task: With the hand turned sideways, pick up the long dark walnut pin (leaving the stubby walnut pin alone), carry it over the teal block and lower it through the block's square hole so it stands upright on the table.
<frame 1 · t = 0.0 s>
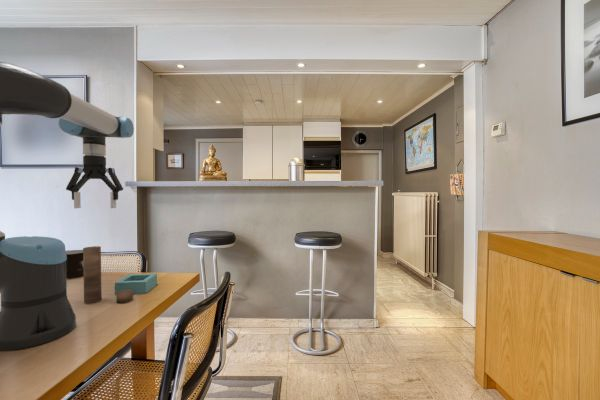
hand: (95, 208, 115), 28 cm above the table, tool pointing down, fingers open, 13 cm apart
short pin: (125, 301, 90), on the table
coffee mug: (70, 277, 115), on the table
hole block: (137, 289, 101), on the table
long pin: (92, 300, 90), on the table
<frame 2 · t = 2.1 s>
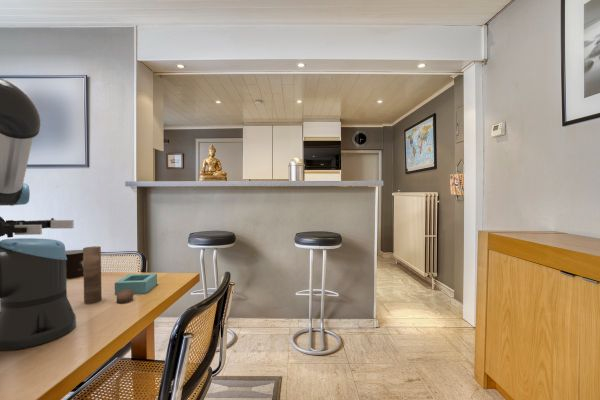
hand: (58, 226, 88), 24 cm above the table, tool horizontal, fingers open, 13 cm apart
nothing on the table moved.
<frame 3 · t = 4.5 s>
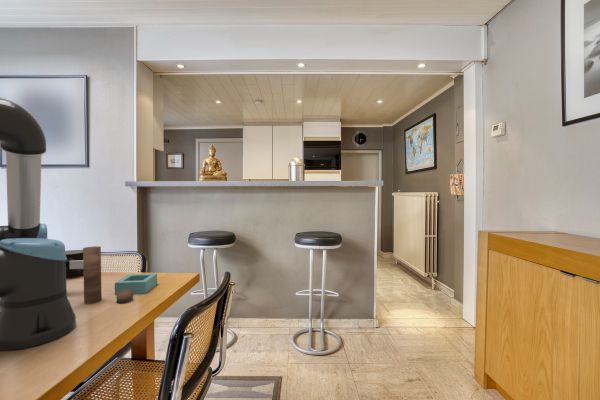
hand: (78, 269, 90), 10 cm above the table, tool horizontal, fingers open, 13 cm apart
nothing on the table moved.
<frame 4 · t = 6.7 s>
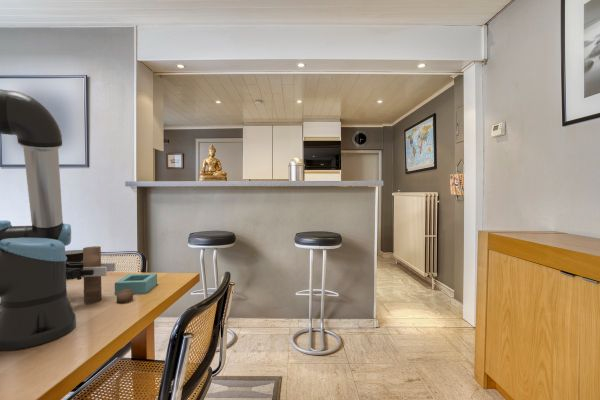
hand: (110, 269, 90), 10 cm above the table, tool horizontal, fingers closed on long pin, 4 cm apart
long pin: (92, 300, 90), on the table, touching gripper
everything else where it was.
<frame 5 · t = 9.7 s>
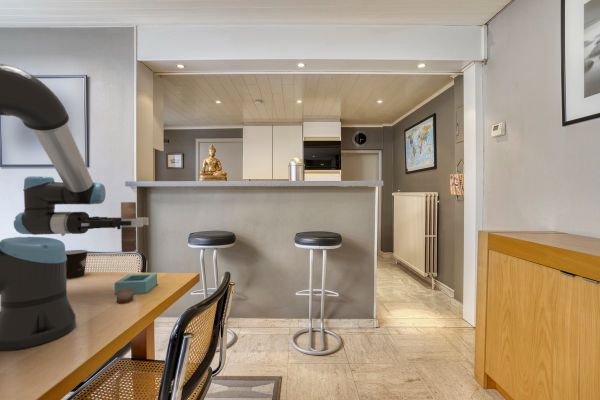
hand: (145, 222, 100), 24 cm above the table, tool horizontal, fingers closed on long pin, 4 cm apart
long pin: (129, 250, 99), point 14 cm above the table, touching gripper
everything else where it was.
when the fingers open (11 cm above the table, at t = 12.6 s): long pin drops 1 cm, resting in hole block.
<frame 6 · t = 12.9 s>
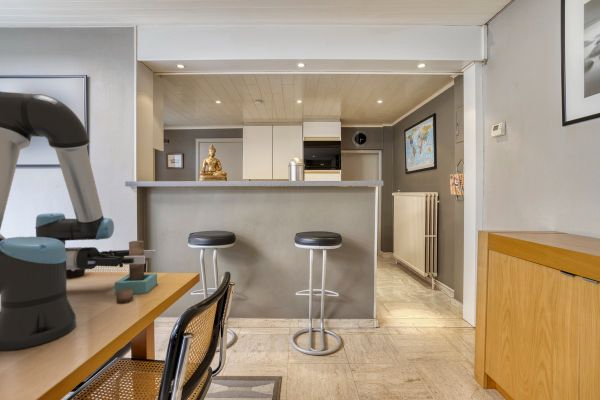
hand: (150, 256, 101), 11 cm above the table, tool horizontal, fingers open, 9 cm apart
long pin: (136, 289, 101), resting in hole block
everything else where it was.
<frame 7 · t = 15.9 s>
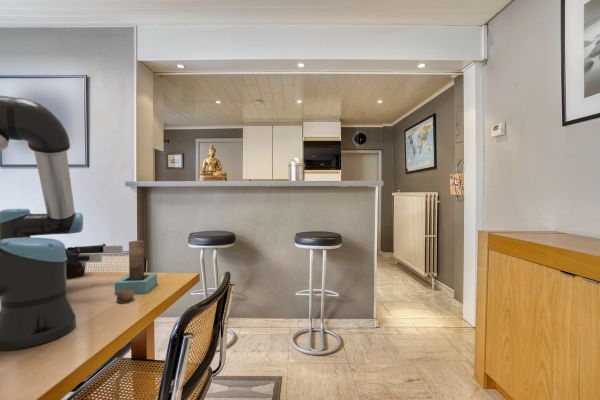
hand: (112, 253, 100), 13 cm above the table, tool horizontal, fingers open, 13 cm apart
nothing on the table moved.
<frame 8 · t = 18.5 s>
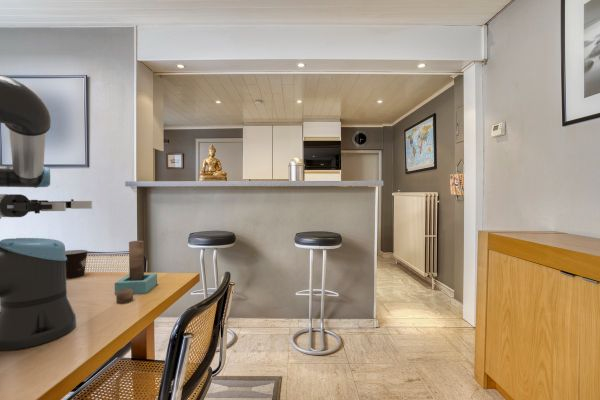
hand: (79, 205, 95), 30 cm above the table, tool horizontal, fingers open, 13 cm apart
nothing on the table moved.
at the end: long pin 0.1 cm off-centre on the hole block, point 0.0 cm above the hole block's base; long pin tilted 0°; short pin moved 0.0 cm from its start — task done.
